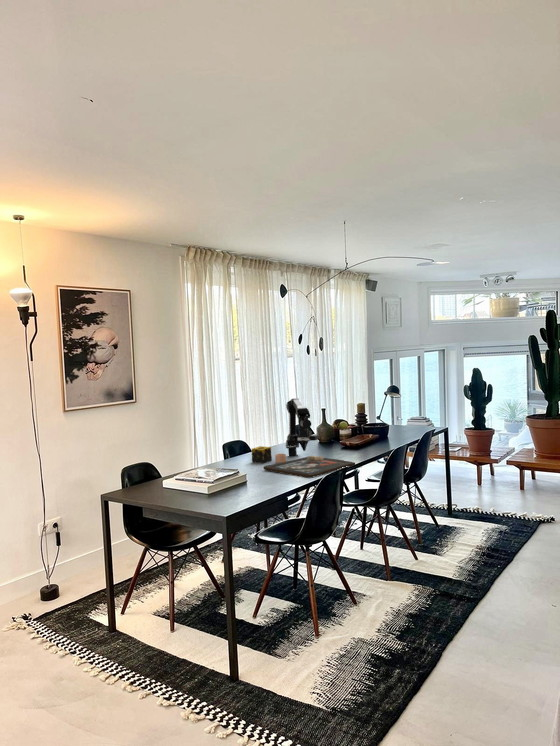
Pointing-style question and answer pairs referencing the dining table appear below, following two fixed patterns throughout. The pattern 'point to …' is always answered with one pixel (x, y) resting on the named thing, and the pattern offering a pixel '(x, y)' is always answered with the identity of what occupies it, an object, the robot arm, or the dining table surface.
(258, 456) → the candle
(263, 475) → the dining table surface
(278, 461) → the terracotta cup
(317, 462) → the religious icon
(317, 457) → the birch pin
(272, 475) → the dining table surface
